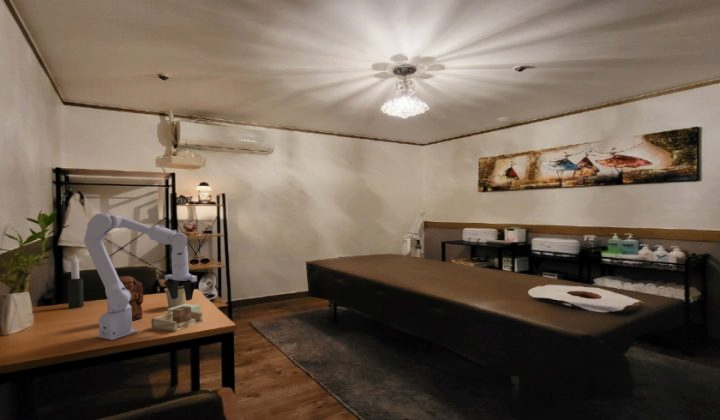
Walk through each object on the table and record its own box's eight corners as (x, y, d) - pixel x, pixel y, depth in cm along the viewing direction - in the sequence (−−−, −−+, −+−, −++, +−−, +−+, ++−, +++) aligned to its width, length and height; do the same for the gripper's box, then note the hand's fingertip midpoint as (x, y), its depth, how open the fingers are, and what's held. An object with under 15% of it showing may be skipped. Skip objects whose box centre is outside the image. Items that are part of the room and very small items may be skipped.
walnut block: (180, 323, 139) (180, 310, 138) (172, 322, 140) (172, 309, 140) (191, 319, 143) (191, 306, 143) (183, 318, 145) (183, 305, 145)
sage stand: (183, 318, 151) (183, 310, 151) (167, 316, 155) (167, 309, 154) (200, 312, 159) (200, 305, 159) (185, 310, 163) (185, 303, 163)
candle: (71, 306, 174) (69, 253, 173) (84, 305, 176) (82, 252, 176) (67, 309, 169) (66, 254, 169) (81, 307, 171) (80, 254, 171)
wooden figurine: (112, 325, 143) (111, 279, 143) (107, 322, 147) (106, 277, 147) (145, 318, 152) (144, 274, 152) (139, 315, 156) (138, 273, 156)
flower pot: (191, 304, 173) (191, 285, 173) (180, 309, 164) (179, 290, 164) (172, 304, 174) (172, 285, 174) (160, 309, 165) (159, 290, 165)
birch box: (174, 331, 134) (174, 322, 134) (151, 328, 139) (151, 319, 139) (202, 321, 146) (202, 312, 146) (180, 318, 151) (180, 309, 151)
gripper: (202, 262, 142) (204, 297, 143) (175, 261, 148) (176, 295, 148) (187, 266, 136) (189, 302, 136) (159, 264, 141) (161, 300, 142)
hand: (181, 299), depth 142 cm, fingers open, 7 cm apart
